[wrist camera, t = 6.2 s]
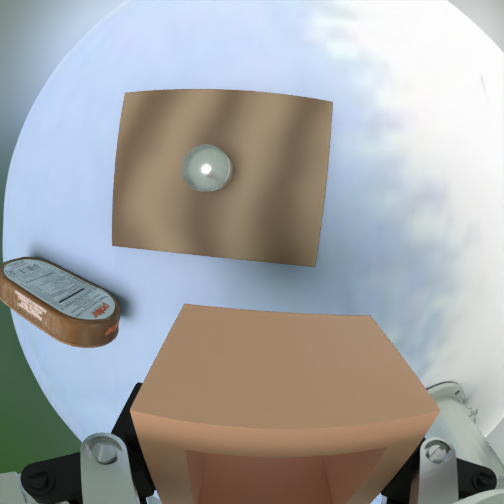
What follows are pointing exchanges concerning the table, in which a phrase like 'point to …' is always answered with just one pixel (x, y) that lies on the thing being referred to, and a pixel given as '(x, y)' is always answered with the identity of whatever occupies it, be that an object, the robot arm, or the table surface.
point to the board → (242, 184)
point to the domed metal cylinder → (207, 168)
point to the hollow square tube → (277, 409)
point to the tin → (59, 302)
